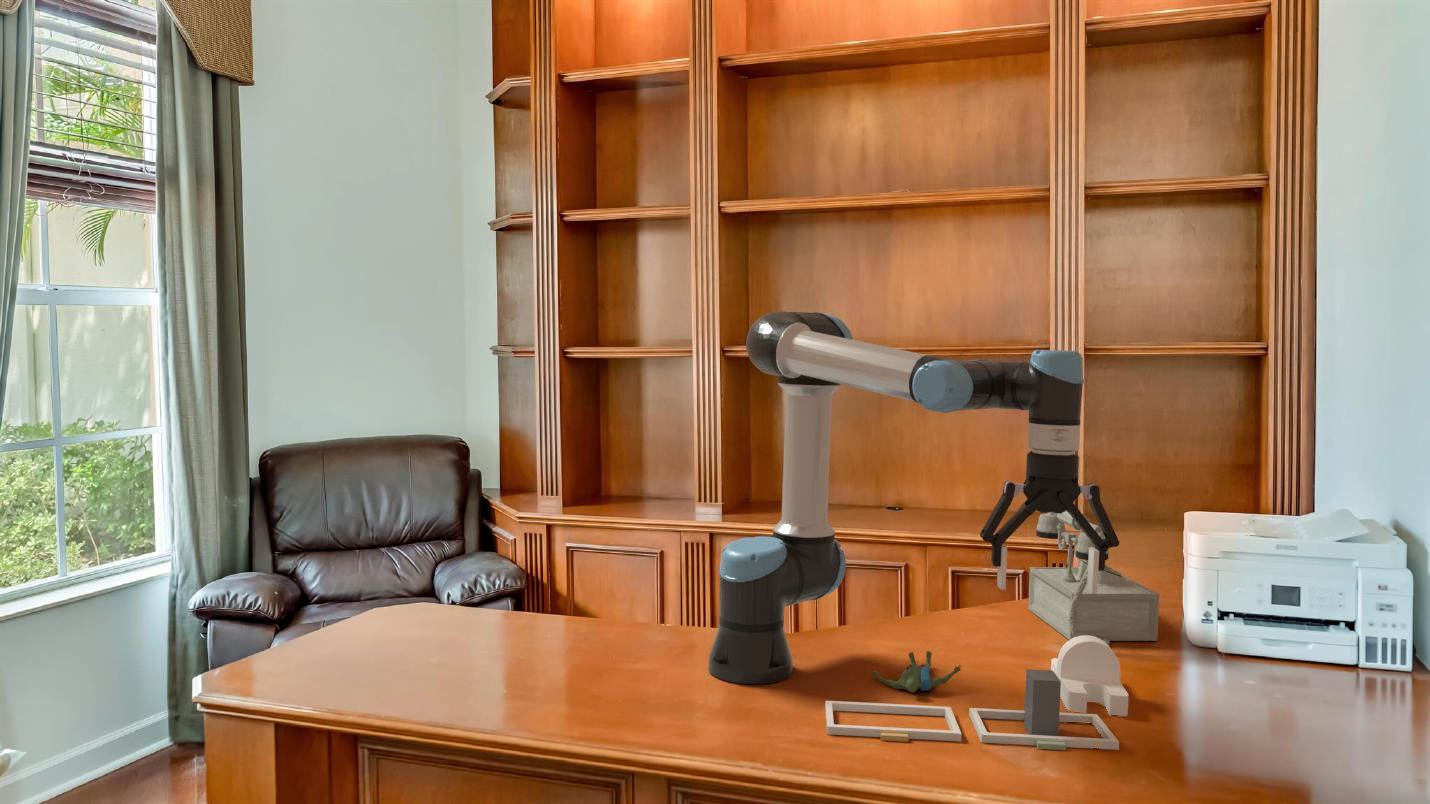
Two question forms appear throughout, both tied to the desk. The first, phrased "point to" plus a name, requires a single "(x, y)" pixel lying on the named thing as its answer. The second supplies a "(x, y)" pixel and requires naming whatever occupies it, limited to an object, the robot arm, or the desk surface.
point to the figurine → (917, 676)
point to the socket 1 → (890, 732)
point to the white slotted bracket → (1090, 675)
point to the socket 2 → (1042, 740)
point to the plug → (1042, 702)
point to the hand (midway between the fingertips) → (1046, 589)
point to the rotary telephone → (1075, 609)
